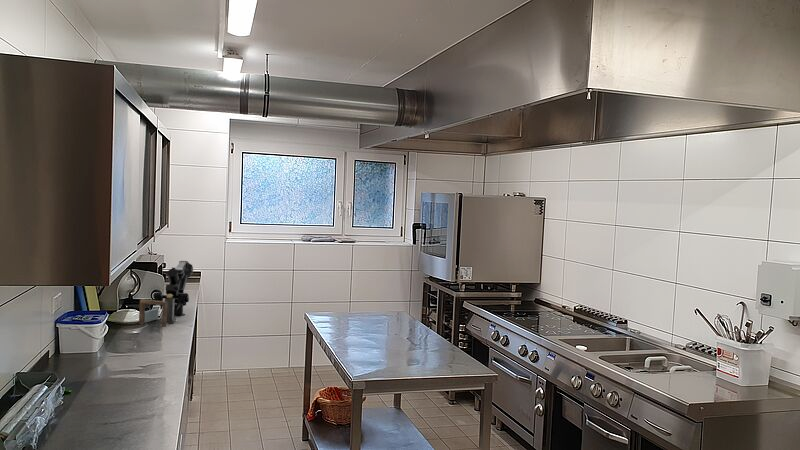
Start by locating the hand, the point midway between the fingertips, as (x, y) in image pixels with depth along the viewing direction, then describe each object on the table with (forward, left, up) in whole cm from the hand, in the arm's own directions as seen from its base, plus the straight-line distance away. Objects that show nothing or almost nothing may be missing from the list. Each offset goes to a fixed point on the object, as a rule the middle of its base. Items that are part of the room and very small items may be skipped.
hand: (168, 309), depth 340 cm
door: (0, -12, -7) cm, 14 cm away
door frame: (+8, -4, -8) cm, 12 cm away
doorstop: (-1, -1, -8) cm, 8 cm away
